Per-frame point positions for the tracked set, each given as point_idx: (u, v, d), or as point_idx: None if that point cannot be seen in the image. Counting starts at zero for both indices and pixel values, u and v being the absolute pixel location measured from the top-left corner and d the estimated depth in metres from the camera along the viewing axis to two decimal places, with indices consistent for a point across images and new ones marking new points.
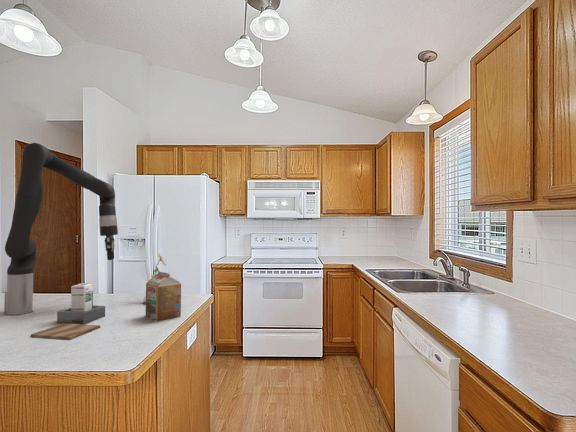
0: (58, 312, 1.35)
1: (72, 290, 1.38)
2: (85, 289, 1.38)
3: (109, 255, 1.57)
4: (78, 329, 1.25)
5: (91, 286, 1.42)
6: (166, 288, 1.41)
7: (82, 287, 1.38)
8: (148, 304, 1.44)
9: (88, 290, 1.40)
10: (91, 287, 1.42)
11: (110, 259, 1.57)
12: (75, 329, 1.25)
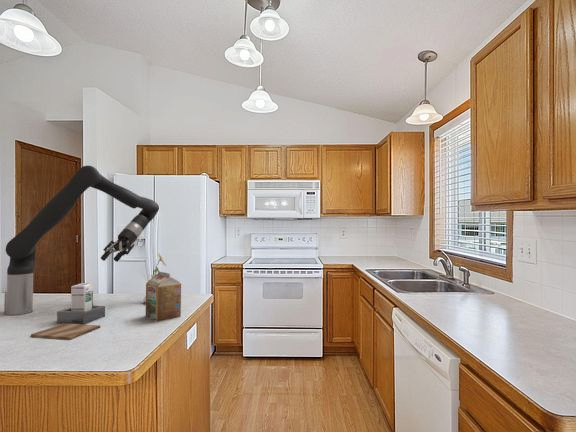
0: (58, 312, 1.35)
1: (72, 290, 1.38)
2: (85, 289, 1.38)
3: (119, 256, 1.50)
4: (78, 329, 1.25)
5: (91, 286, 1.42)
6: (166, 288, 1.41)
7: (82, 287, 1.38)
8: (148, 304, 1.44)
9: (88, 290, 1.40)
10: (91, 287, 1.42)
11: (116, 260, 1.50)
12: (75, 329, 1.25)
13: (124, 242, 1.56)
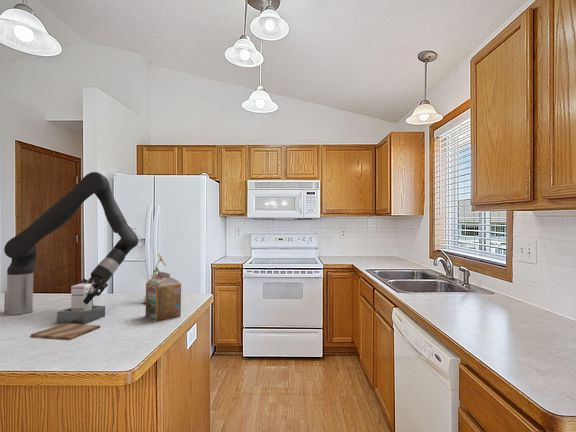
0: (58, 312, 1.35)
1: (72, 290, 1.38)
2: (85, 289, 1.38)
3: (89, 298, 1.38)
4: (78, 329, 1.25)
5: None
6: (166, 288, 1.41)
7: (82, 287, 1.38)
8: (148, 304, 1.44)
9: (88, 290, 1.40)
10: None
11: (85, 302, 1.37)
12: (75, 329, 1.25)
13: (97, 281, 1.44)
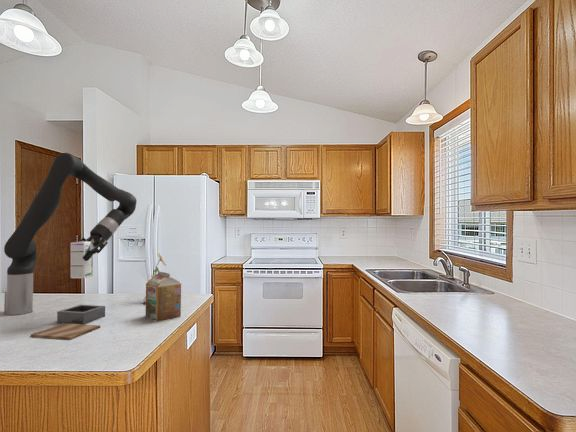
0: (58, 312, 1.35)
1: (71, 246, 1.35)
2: (85, 246, 1.36)
3: (89, 255, 1.36)
4: (78, 329, 1.25)
5: None
6: (166, 288, 1.41)
7: (82, 243, 1.35)
8: (148, 304, 1.44)
9: (88, 247, 1.38)
10: None
11: (85, 259, 1.35)
12: (75, 329, 1.25)
13: (96, 239, 1.41)
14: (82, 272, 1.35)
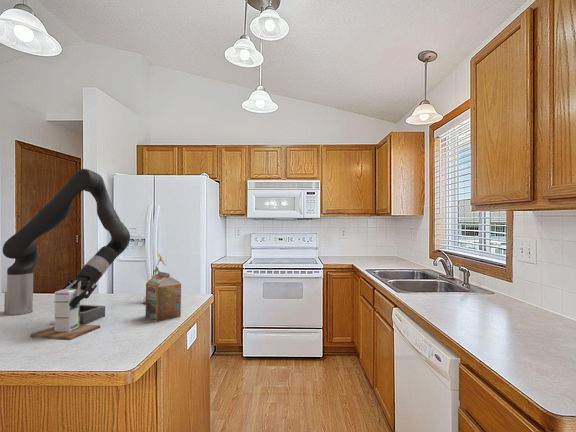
0: None
1: (56, 296, 1.22)
2: (70, 295, 1.23)
3: (76, 301, 1.22)
4: (78, 329, 1.25)
5: None
6: (166, 288, 1.41)
7: (67, 293, 1.22)
8: (148, 304, 1.44)
9: (74, 296, 1.25)
10: None
11: (72, 306, 1.22)
12: (75, 329, 1.25)
13: (84, 282, 1.28)
14: (67, 325, 1.22)
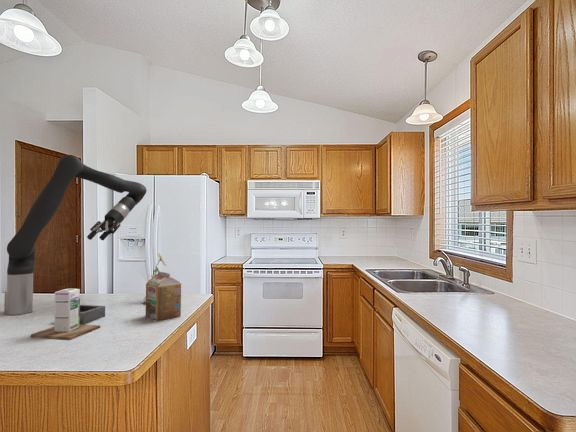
0: None
1: (56, 296, 1.22)
2: (70, 295, 1.23)
3: (105, 235, 1.54)
4: (78, 329, 1.25)
5: (78, 291, 1.27)
6: (166, 288, 1.41)
7: (67, 293, 1.22)
8: (148, 304, 1.44)
9: (74, 296, 1.25)
10: (78, 293, 1.27)
11: (102, 238, 1.53)
12: (75, 329, 1.25)
13: (110, 222, 1.59)
14: (67, 325, 1.22)
